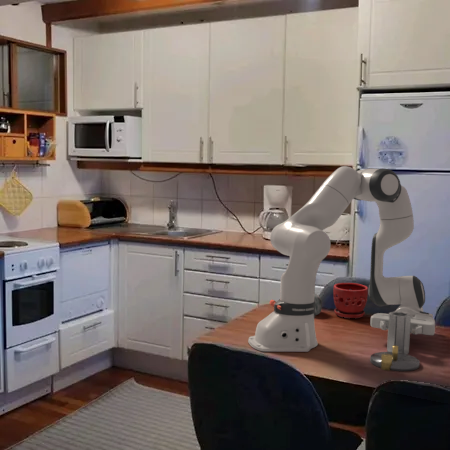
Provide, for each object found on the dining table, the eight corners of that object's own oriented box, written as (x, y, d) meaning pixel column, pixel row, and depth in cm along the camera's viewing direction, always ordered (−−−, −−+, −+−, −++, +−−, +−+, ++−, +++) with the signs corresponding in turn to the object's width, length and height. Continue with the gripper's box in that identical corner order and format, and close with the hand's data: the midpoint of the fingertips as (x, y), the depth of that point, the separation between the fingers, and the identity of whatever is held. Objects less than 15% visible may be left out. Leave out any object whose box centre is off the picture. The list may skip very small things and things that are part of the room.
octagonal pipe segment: (388, 353, 185) (390, 316, 184) (386, 347, 191) (388, 311, 190) (409, 355, 184) (411, 317, 183) (407, 349, 190) (409, 312, 189)
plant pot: (325, 313, 234) (326, 283, 233) (352, 310, 240) (354, 281, 239) (345, 321, 222) (347, 290, 221) (373, 318, 228) (375, 288, 227)
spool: (330, 308, 229) (317, 285, 230) (309, 320, 227) (297, 297, 228) (319, 308, 242) (307, 286, 243) (299, 320, 240) (288, 298, 241)
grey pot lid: (385, 372, 168) (386, 354, 167) (361, 357, 181) (362, 340, 181) (429, 369, 171) (430, 352, 171) (402, 354, 185) (403, 338, 184)
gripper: (374, 306, 204) (366, 315, 191) (437, 314, 195) (433, 324, 183) (374, 324, 204) (365, 334, 192) (436, 333, 196) (431, 344, 183)
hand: (398, 329), depth 187 cm, fingers open, 8 cm apart
